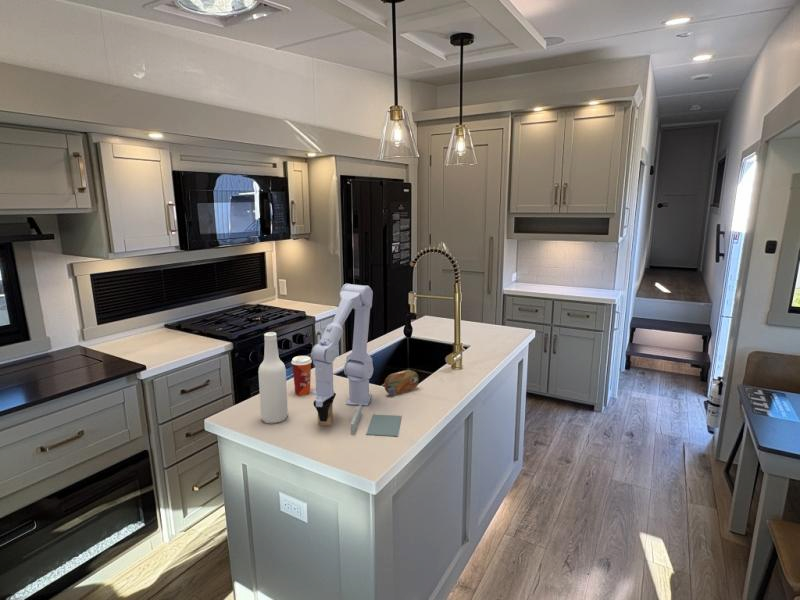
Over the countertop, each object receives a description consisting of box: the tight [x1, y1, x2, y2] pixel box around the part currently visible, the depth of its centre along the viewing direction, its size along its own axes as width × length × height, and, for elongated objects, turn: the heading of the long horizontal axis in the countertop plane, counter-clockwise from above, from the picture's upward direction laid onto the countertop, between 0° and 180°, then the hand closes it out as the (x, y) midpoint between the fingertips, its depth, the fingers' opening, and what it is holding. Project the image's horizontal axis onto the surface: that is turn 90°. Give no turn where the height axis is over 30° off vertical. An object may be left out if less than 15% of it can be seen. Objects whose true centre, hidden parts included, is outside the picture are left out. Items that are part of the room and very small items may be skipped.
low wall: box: [350, 405, 363, 435], centre depth 150 cm, size 14×1×4 cm, turn 175°
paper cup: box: [290, 355, 313, 396], centre depth 174 cm, size 8×8×14 cm
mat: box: [365, 413, 403, 438], centre depth 149 cm, size 14×10×1 cm
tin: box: [383, 369, 420, 397], centre depth 176 cm, size 15×3×8 cm, turn 124°
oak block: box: [317, 403, 334, 426], centre depth 151 cm, size 4×4×6 cm
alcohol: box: [257, 331, 289, 424], centre depth 151 cm, size 9×9×30 cm
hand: (325, 417), depth 151 cm, fingers closed on oak block, 4 cm apart
